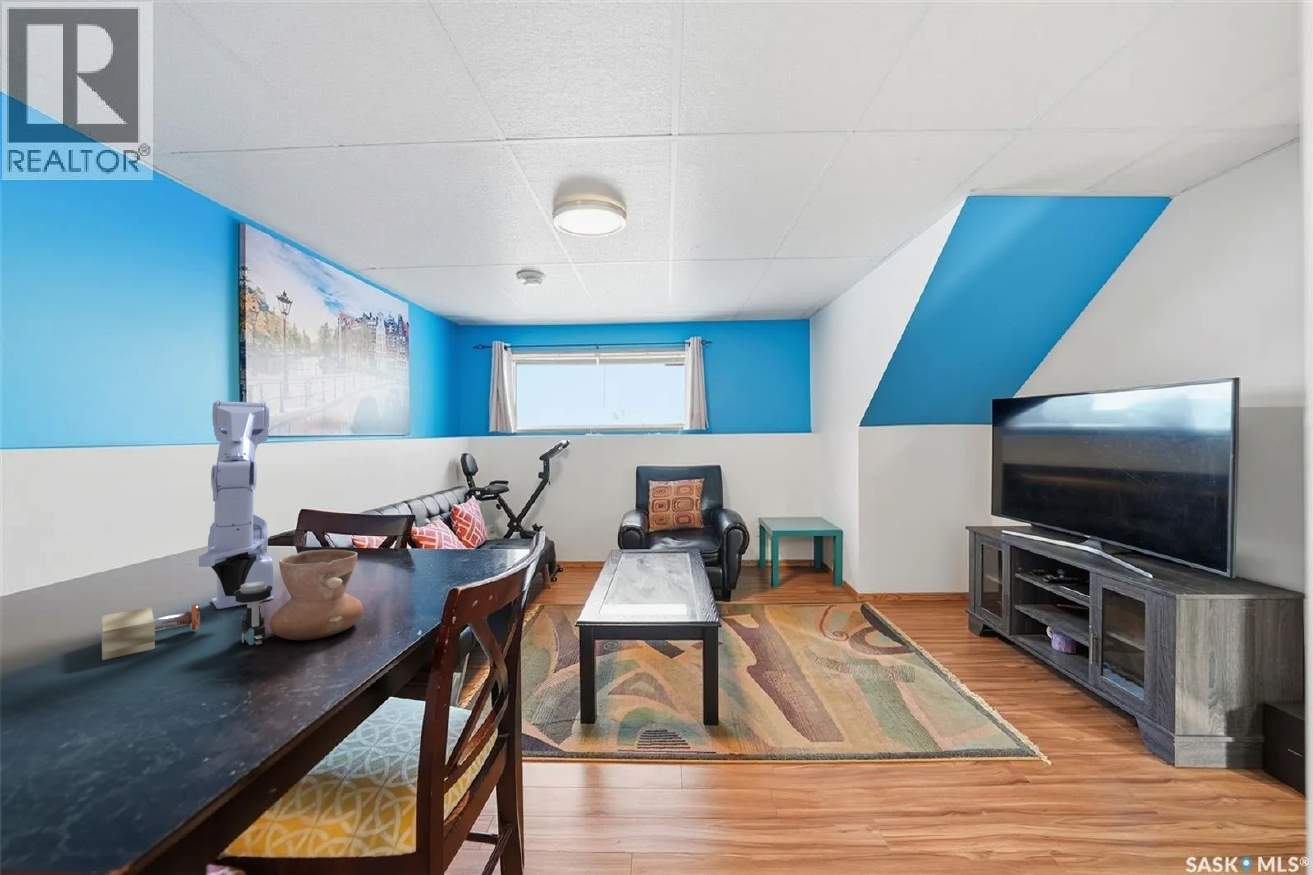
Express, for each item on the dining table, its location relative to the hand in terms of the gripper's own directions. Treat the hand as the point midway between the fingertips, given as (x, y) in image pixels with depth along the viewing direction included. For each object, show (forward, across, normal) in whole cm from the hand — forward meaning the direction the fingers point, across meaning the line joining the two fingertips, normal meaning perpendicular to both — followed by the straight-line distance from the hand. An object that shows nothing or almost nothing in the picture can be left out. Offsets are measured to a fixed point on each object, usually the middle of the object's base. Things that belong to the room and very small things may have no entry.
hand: (233, 595), depth 97 cm
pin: (+5, +7, -8) cm, 12 cm away
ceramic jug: (+6, +5, +17) cm, 19 cm away
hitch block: (+6, +9, -11) cm, 15 cm away
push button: (+6, +9, +9) cm, 14 cm away
